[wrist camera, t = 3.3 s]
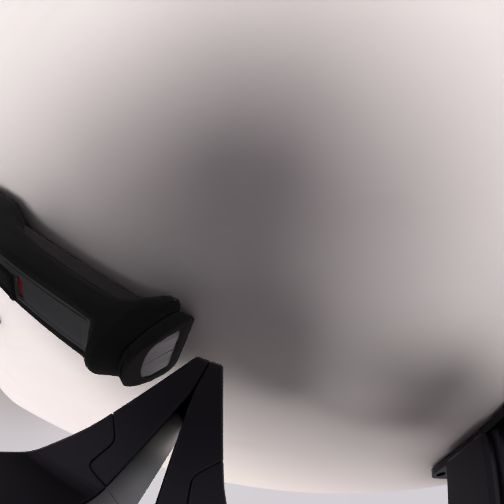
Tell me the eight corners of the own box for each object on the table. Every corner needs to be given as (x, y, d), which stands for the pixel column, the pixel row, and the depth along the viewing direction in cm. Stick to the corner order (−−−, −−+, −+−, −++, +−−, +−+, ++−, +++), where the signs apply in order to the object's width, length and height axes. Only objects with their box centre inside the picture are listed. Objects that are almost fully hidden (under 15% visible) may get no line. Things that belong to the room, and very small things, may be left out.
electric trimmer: (-34, 145, 11) (-80, 162, 8) (203, 302, 10) (156, 370, 7) (-33, 204, 13) (-73, 225, 10) (176, 364, 12) (139, 423, 9)
